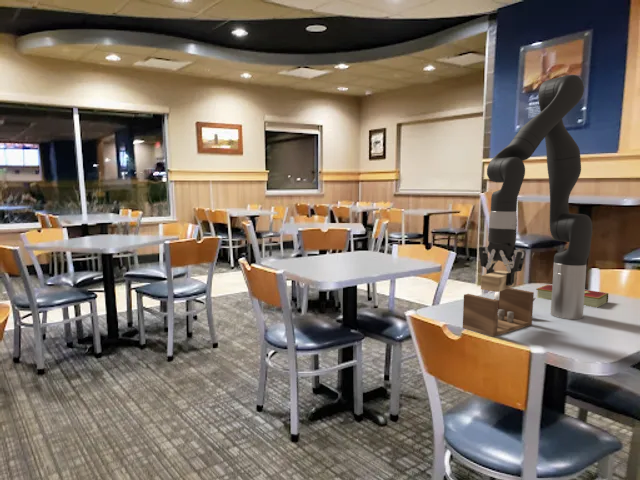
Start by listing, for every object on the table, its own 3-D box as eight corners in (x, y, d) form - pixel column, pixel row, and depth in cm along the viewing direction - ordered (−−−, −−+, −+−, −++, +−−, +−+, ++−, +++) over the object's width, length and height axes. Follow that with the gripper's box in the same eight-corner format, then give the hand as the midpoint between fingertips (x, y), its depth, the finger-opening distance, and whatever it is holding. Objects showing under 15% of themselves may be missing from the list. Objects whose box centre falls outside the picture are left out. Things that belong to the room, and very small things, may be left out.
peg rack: (501, 317, 143) (503, 286, 142) (531, 324, 135) (533, 292, 134) (462, 327, 132) (463, 294, 130) (492, 336, 123) (494, 301, 122)
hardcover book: (547, 293, 178) (547, 283, 178) (607, 303, 163) (608, 292, 163) (535, 298, 170) (536, 287, 169) (598, 309, 155) (599, 297, 154)
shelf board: (498, 291, 125) (498, 278, 125) (480, 289, 128) (481, 275, 128) (516, 284, 135) (517, 271, 135) (499, 282, 139) (500, 269, 138)
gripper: (473, 225, 134) (471, 280, 135) (518, 229, 122) (515, 289, 124) (488, 224, 138) (486, 278, 140) (533, 227, 126) (529, 286, 128)
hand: (499, 283), depth 132 cm, fingers closed on shelf board, 5 cm apart
